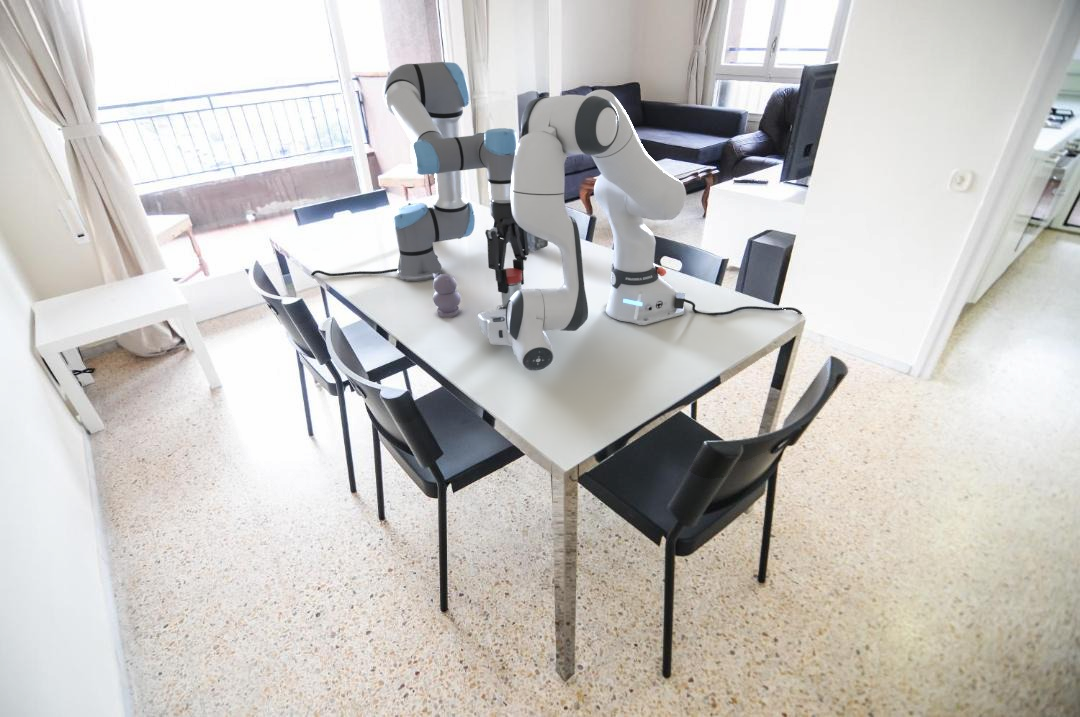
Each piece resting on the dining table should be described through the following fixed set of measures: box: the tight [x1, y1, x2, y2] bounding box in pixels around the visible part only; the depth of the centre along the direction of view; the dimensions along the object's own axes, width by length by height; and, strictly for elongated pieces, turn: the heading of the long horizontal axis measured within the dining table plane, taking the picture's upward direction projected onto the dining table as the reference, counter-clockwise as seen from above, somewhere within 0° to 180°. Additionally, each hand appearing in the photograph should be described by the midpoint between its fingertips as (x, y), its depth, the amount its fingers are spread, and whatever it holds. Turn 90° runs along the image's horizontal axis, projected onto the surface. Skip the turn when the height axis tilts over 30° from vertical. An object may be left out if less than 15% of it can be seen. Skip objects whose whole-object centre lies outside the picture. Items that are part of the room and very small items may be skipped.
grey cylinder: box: [501, 281, 522, 309], centre depth 134 cm, size 5×5×16 cm
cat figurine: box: [432, 273, 462, 318], centre depth 145 cm, size 9×8×12 cm
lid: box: [505, 267, 522, 284], centre depth 130 cm, size 6×6×2 cm
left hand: (511, 287), depth 132 cm, fingers closed on lid, 6 cm apart
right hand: (511, 305), depth 136 cm, fingers closed on grey cylinder, 5 cm apart
